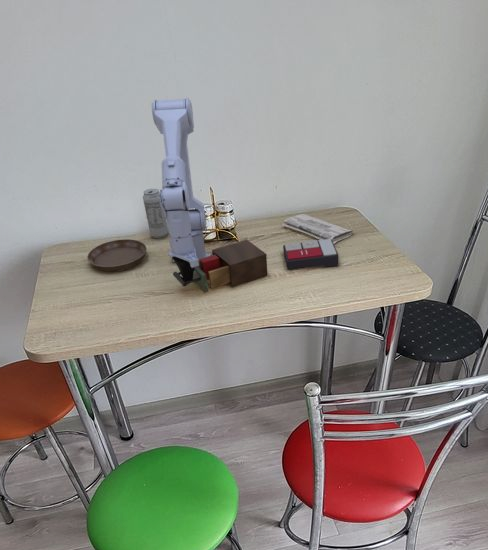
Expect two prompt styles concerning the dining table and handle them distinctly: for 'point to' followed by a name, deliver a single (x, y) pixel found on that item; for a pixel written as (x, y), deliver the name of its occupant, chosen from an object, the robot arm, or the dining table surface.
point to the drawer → (215, 276)
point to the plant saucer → (117, 254)
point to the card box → (209, 264)
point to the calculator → (310, 254)
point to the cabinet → (243, 262)
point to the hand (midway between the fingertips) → (188, 280)
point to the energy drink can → (155, 213)
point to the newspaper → (317, 228)
